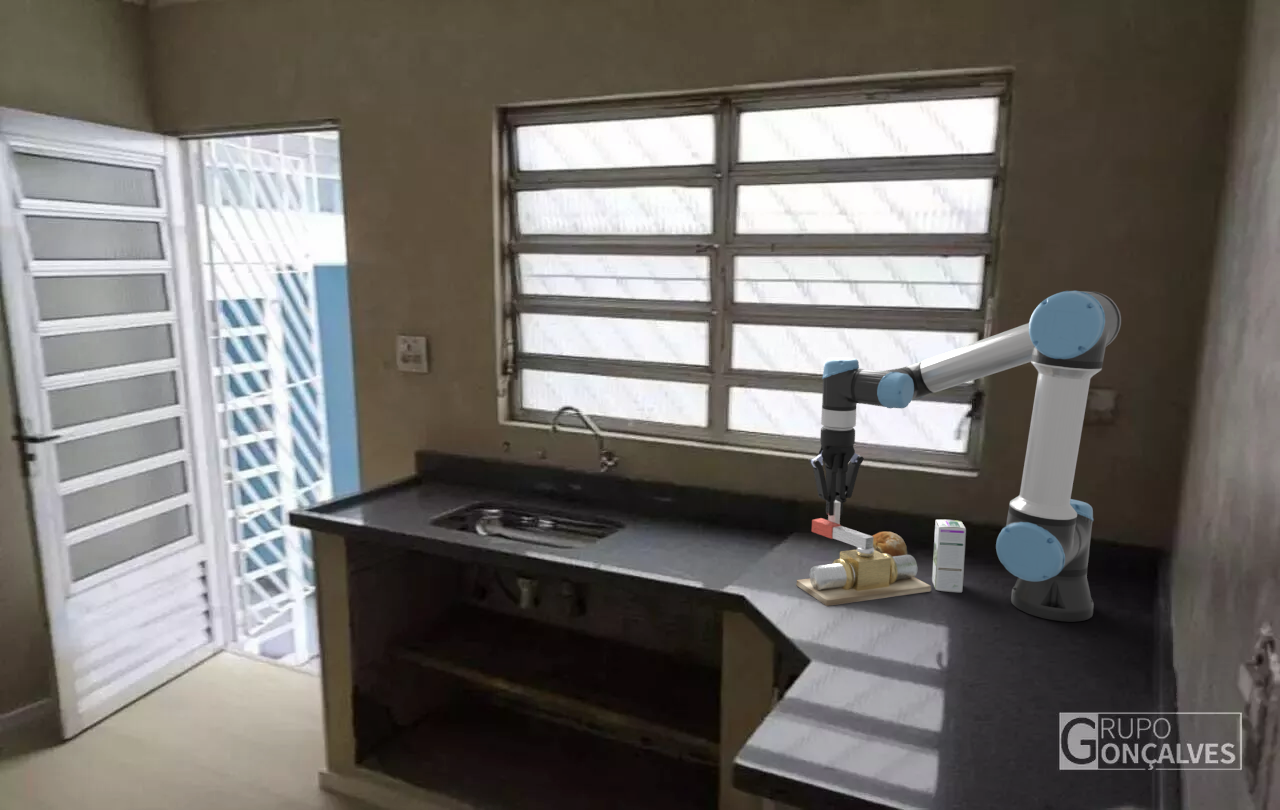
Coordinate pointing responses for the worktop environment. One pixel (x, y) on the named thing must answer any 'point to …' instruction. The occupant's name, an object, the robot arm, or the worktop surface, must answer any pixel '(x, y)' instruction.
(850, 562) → the valve
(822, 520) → the lever
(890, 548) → the bread roll
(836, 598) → the mounting board
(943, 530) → the syrup box
